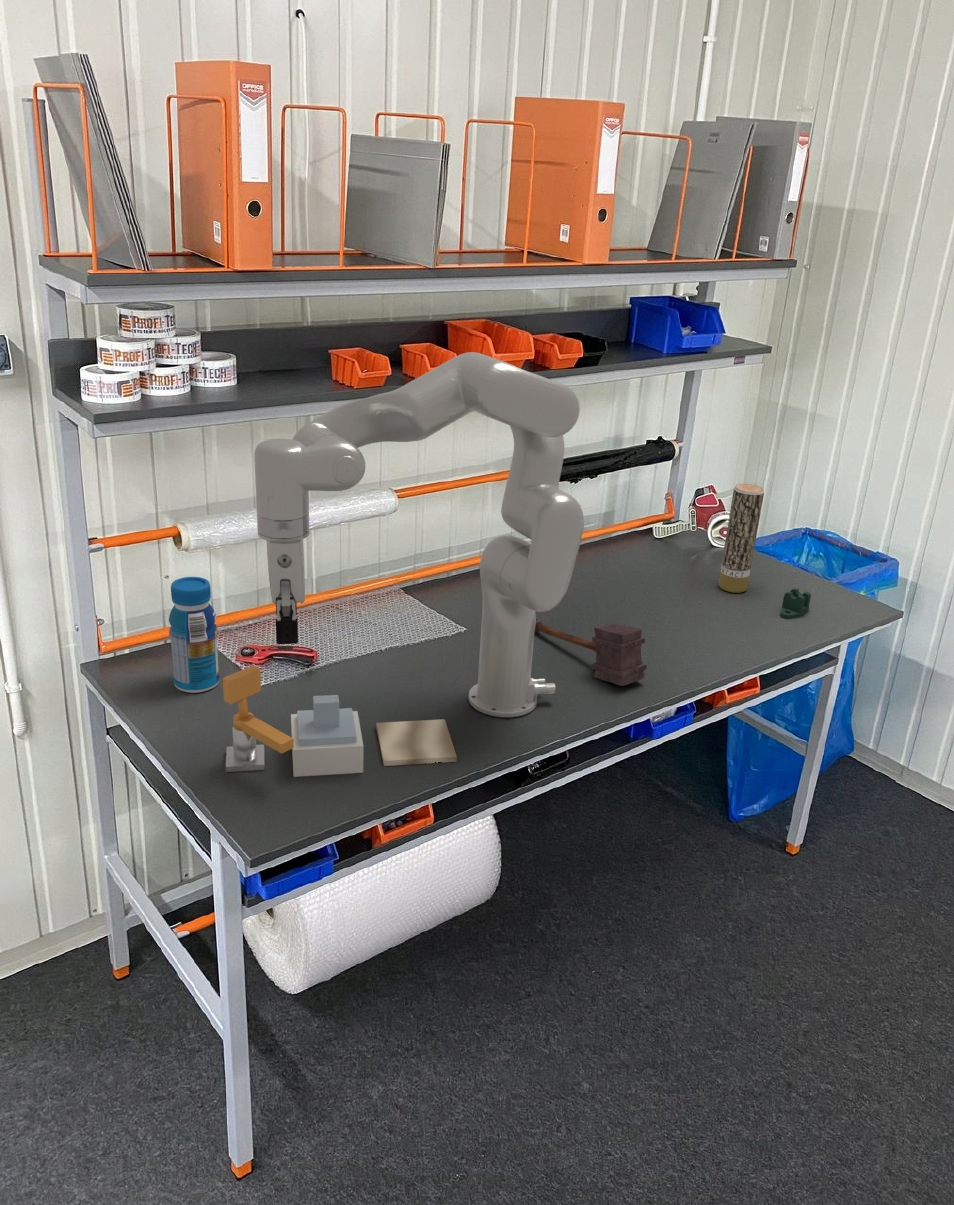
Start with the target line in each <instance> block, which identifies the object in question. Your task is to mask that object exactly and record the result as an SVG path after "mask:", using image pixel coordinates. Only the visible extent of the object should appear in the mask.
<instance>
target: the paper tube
mask: <svg viewBox="0 0 954 1205" xmlns="http://www.w3.org/2000/svg"><path fill="white" fill-rule="evenodd" d="M764 496H765V489H764V488H763V487H762V486H759V485H757V484H756V485H755V484H751V483H738V484H735V485H734V487H733V492H732V498H731V506H730V510H729V515H728V516H729V517H728V523H727V529H726V535H725V541H724V548H723V552H722V559H721V565H720V572H719V576H718V577H719V579H718V588H720V589H721V590H723V591H725V592H728V593H732V594H733V593H734V594H740V593H743V592H745V591H746V590H747V589H748V585H749V579H750V574H751V569H752V563H753V557H754V551H755V547H756V540H757V535H758V529H759V525H760V518H761V513H762V509H763V508H762V507H763V502H764Z"/></svg>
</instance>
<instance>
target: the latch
mask: <svg viewBox="0 0 954 1205" xmlns="http://www.w3.org/2000/svg"><path fill="white" fill-rule="evenodd" d="M261 680H262V679H261V668H260V667H258V666H256V665H254V664H253V665H251V666H248V667H246V668H244V669H241V670H238V671H236V672H234V673H231V674H229V675H226V676H224V677H222V688H223V689H222V692H223V693H222V694H223V701H224V702H225V703H227V704H229V705H232V704H234V703H236V702H237V705H238V706H237V707H238V712H236V713H235V714H233V716H232V720H233V722H232V723H233V724H234V728H235V729H236V730H239V731H243V732H245V733H247V734H249V735H250V736H252V737H254V738H255V739H256V741H259V742H261V743H262V744H263V745H266V746H268V747H269V748H271V749H273V750H275V751H276V752H278V753H280V754H281V755H282V754H284V753H286V752H288V751H291V750H292V748H294V739H293V738H291V736H289V735H288V734H286V733H284V732H282V731H280V730H279V729H277V728H276V727H273V726H271V725H270V724H268V723H267V722H264V721H263V720H261V719H260V718H257V717H256V716H255V715H254V714H253V713H252V712H249V709H248V698H249V697H251V696H253V695H255V694H257V693H260V692H262V684H261V683H262V682H261ZM233 724H232V725H233Z"/></svg>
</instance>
